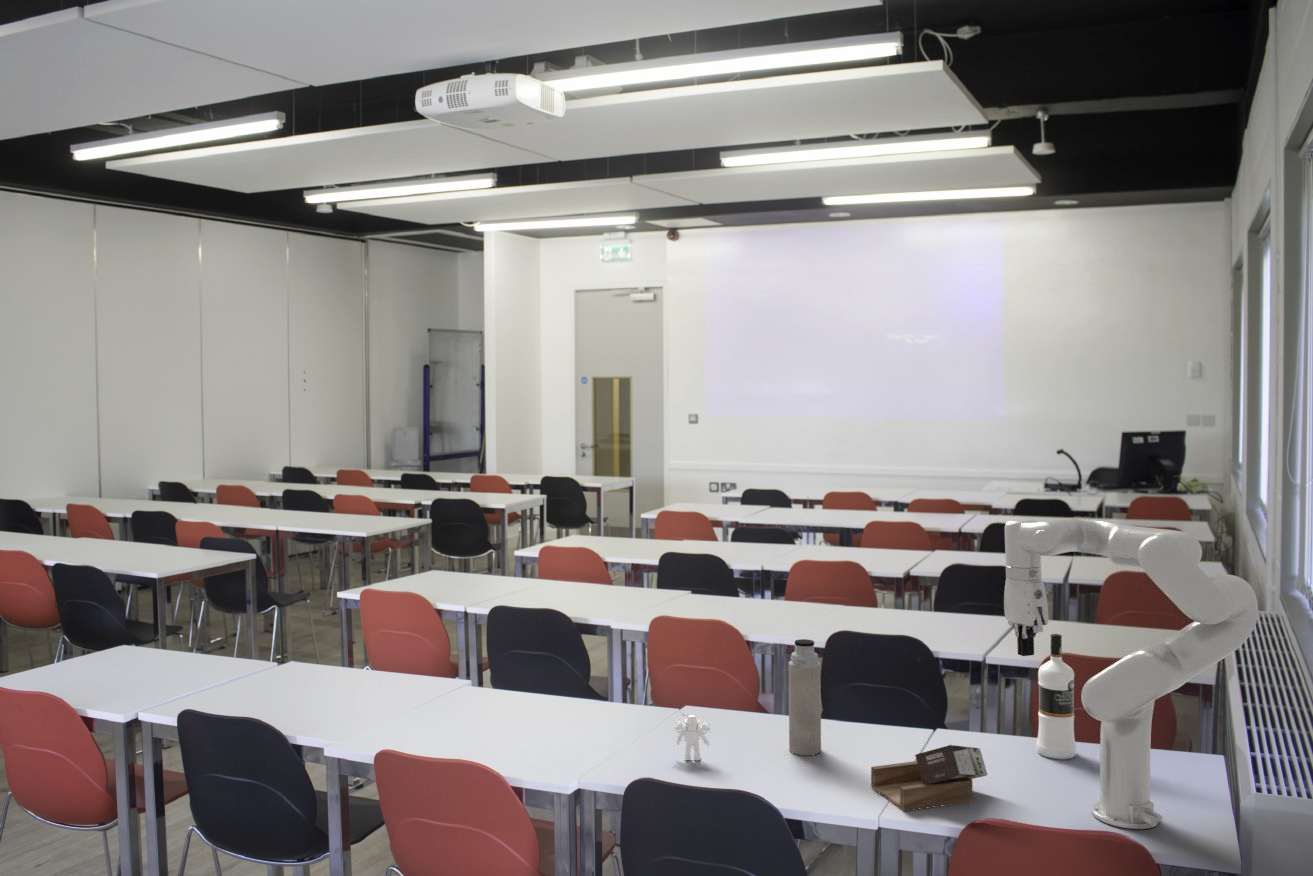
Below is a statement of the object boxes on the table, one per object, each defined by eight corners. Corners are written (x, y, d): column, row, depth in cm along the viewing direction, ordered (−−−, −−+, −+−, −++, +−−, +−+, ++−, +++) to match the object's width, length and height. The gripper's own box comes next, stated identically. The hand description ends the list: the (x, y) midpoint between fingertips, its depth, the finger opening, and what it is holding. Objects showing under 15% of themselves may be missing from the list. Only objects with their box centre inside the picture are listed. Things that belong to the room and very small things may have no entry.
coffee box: (979, 746, 222) (952, 744, 210) (988, 776, 220) (961, 775, 208) (942, 755, 227) (913, 753, 215) (950, 784, 224) (922, 784, 212)
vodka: (1051, 745, 250) (1051, 628, 249) (1084, 755, 242) (1084, 635, 241) (1028, 752, 245) (1028, 633, 244) (1061, 763, 237) (1061, 640, 236)
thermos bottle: (797, 743, 253) (796, 635, 252) (825, 748, 249) (825, 639, 248) (783, 752, 246) (783, 642, 246) (813, 758, 242) (812, 645, 241)
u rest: (972, 801, 214) (972, 780, 214) (903, 811, 209) (903, 789, 209) (936, 779, 228) (936, 758, 228) (871, 787, 223) (871, 766, 223)
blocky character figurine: (673, 761, 241) (673, 713, 241) (676, 755, 245) (675, 708, 244) (710, 763, 239) (709, 714, 239) (711, 757, 243) (711, 709, 243)
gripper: (1060, 577, 215) (1062, 660, 215) (1016, 569, 230) (1018, 647, 230) (1031, 579, 213) (1034, 663, 213) (988, 571, 227) (991, 650, 227)
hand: (1026, 654), depth 221 cm, fingers closed
